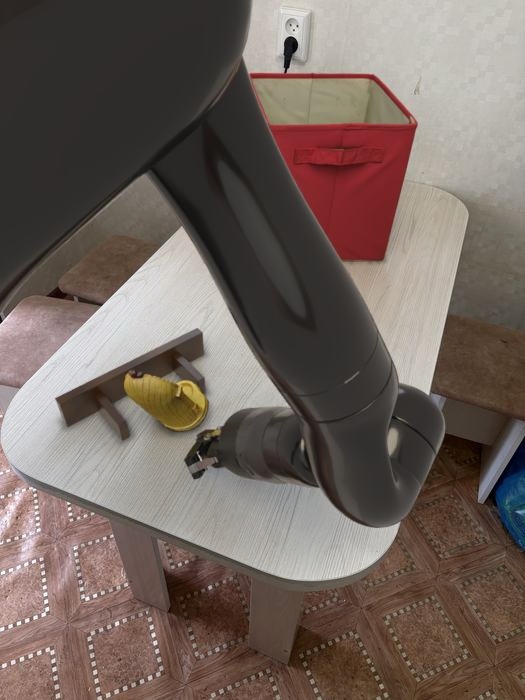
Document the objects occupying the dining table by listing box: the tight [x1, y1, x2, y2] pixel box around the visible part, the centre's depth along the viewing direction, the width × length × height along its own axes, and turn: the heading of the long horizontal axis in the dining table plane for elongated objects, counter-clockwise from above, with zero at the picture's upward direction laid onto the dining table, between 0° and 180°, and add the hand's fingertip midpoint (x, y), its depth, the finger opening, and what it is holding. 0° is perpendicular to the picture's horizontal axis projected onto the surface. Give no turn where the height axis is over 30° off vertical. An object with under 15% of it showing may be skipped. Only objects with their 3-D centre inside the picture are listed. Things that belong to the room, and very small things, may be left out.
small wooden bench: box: [54, 327, 206, 441], centre depth 75 cm, size 24×8×5 cm, turn 131°
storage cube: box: [249, 72, 419, 262], centre depth 105 cm, size 32×28×29 cm
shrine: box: [124, 370, 210, 432], centre depth 68 cm, size 12×8×15 cm
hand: (203, 439), depth 66 cm, fingers closed
